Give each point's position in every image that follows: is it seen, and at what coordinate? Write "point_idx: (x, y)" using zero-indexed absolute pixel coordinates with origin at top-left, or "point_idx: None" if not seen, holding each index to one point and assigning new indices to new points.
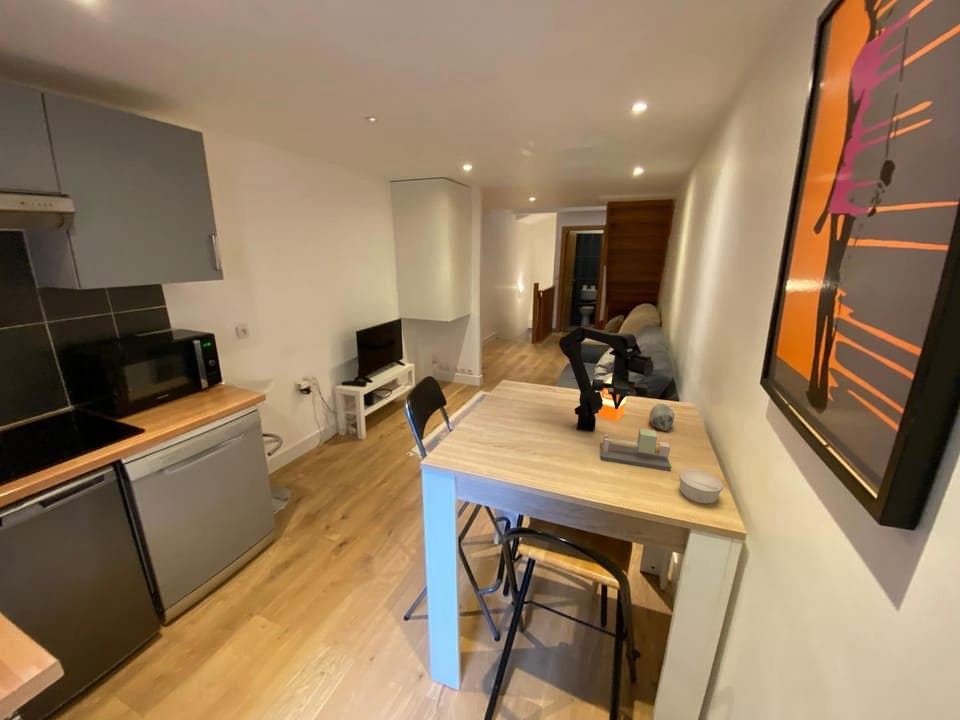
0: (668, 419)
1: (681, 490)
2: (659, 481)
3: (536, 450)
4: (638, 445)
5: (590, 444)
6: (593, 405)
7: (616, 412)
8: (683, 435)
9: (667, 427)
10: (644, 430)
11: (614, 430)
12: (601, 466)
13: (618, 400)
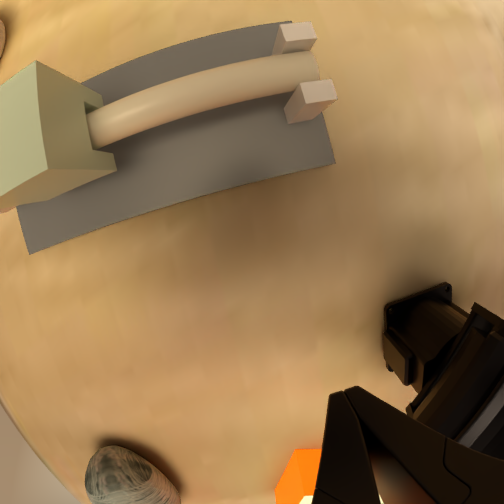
0: (90, 478)
1: (3, 26)
2: (50, 35)
3: (493, 42)
4: (92, 112)
5: (374, 161)
6: (499, 366)
7: (304, 478)
8: (62, 433)
9: (97, 453)
10: (15, 162)
11: (289, 379)
12: None
13: (377, 495)
